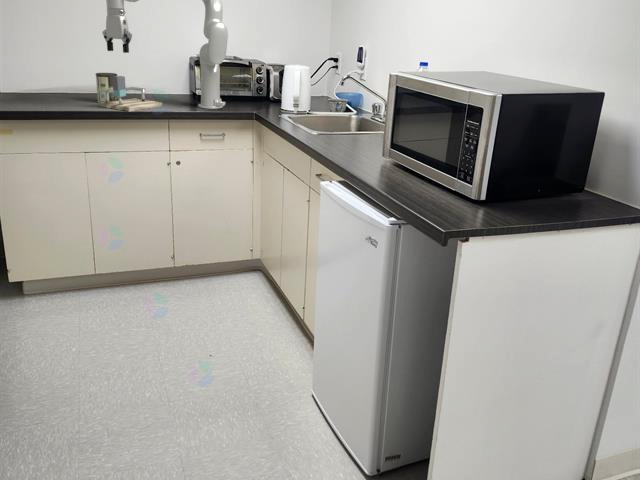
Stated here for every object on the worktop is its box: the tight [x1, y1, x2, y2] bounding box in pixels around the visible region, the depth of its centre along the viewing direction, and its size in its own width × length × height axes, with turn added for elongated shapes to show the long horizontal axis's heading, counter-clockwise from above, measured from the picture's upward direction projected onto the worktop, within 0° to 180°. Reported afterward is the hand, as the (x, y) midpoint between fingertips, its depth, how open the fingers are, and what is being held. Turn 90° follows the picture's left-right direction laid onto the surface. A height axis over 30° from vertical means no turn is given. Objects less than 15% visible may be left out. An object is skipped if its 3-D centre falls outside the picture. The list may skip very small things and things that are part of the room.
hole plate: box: [100, 97, 163, 113], centre depth 290 cm, size 18×23×2 cm
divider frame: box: [104, 86, 146, 103], centre depth 289 cm, size 8×20×6 cm, turn 153°
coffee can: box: [95, 72, 119, 104], centre depth 297 cm, size 10×10×14 cm
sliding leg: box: [112, 75, 127, 103], centre depth 281 cm, size 4×5×12 cm
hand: (118, 51), depth 275 cm, fingers open, 9 cm apart
